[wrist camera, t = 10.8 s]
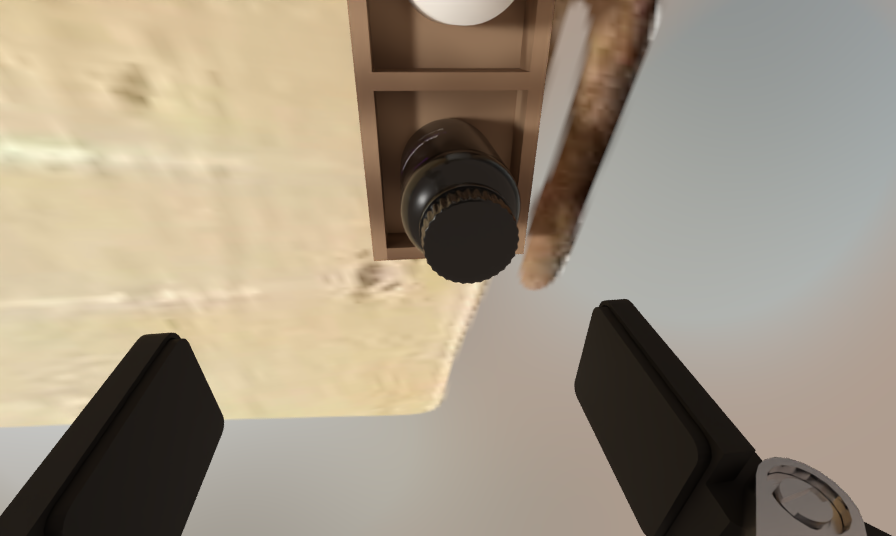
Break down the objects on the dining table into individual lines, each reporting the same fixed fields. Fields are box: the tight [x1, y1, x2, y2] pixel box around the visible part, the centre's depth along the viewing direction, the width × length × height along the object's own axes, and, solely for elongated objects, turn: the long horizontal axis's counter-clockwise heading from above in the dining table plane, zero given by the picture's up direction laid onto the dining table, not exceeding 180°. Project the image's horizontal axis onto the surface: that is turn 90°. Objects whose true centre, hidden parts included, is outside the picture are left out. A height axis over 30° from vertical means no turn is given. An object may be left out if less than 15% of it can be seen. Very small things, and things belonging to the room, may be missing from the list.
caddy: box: [347, 0, 555, 261], centre depth 25 cm, size 24×12×4 cm, turn 179°
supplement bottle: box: [400, 119, 521, 284], centre depth 24 cm, size 7×7×12 cm
